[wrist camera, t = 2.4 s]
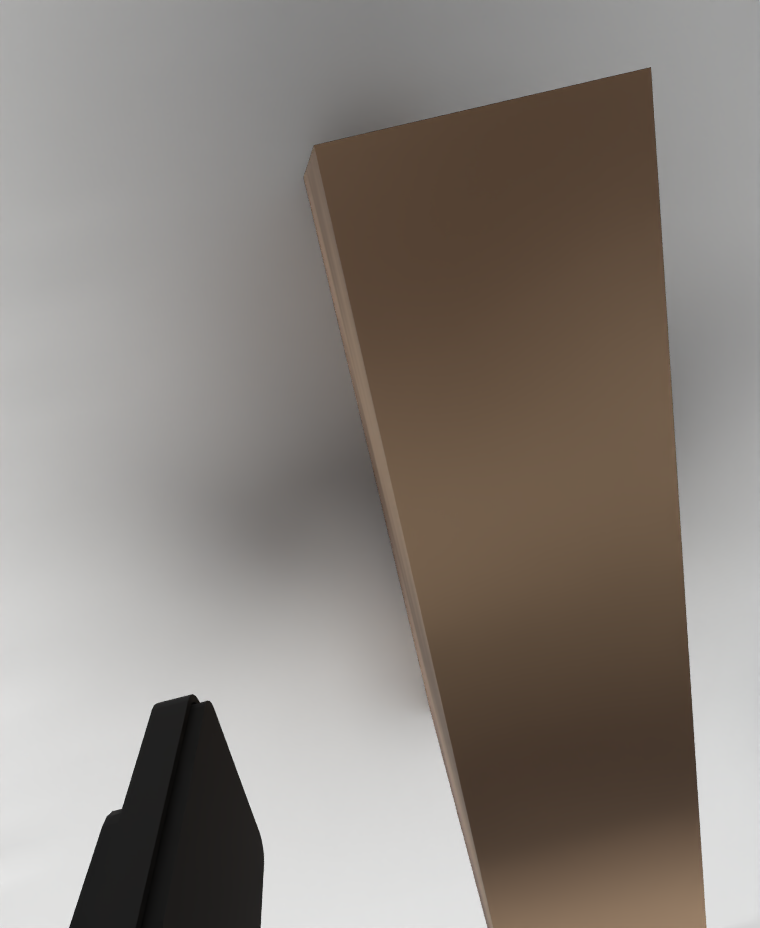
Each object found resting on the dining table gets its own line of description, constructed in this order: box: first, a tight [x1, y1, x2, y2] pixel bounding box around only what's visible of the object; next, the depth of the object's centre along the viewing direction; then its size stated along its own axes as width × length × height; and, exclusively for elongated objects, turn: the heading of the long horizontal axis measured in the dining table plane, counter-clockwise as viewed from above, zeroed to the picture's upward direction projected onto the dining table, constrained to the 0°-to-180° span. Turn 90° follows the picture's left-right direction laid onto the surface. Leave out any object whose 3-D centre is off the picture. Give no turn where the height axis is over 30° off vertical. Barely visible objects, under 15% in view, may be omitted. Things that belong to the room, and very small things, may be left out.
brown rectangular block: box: [303, 67, 706, 928], centre depth 13 cm, size 14×3×9 cm, turn 12°
